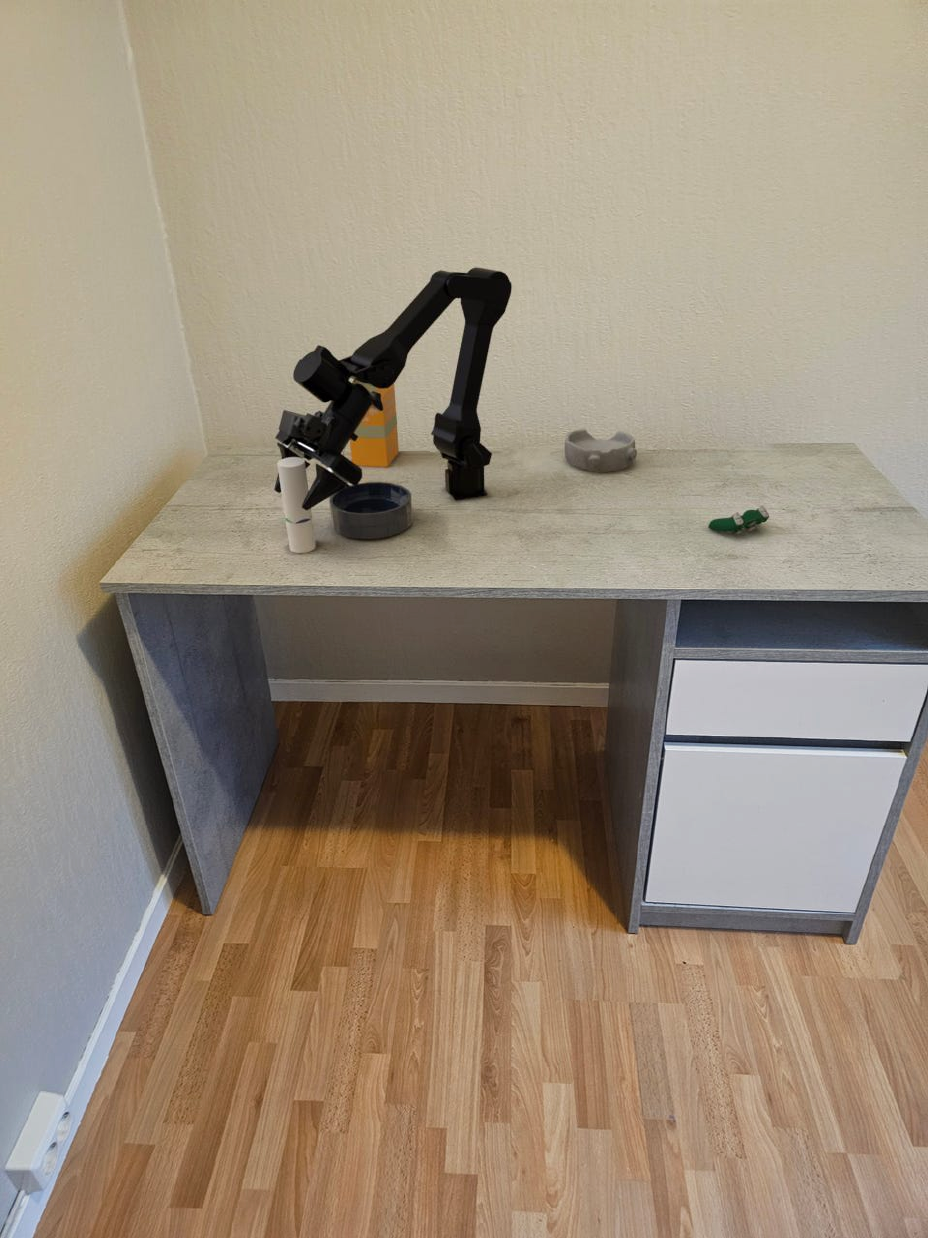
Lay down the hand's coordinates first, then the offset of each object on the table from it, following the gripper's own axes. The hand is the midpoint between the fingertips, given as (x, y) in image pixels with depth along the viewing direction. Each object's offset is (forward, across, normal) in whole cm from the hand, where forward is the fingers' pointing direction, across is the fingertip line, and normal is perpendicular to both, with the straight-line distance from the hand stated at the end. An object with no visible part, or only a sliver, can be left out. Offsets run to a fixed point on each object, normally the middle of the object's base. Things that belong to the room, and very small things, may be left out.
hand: (290, 500), depth 134 cm
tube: (+6, 0, +7) cm, 9 cm away
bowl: (-4, 0, +17) cm, 17 cm away
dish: (-40, +6, +53) cm, 67 cm away
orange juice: (-17, -27, +30) cm, 43 cm away
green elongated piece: (-36, +43, +49) cm, 75 cm away
